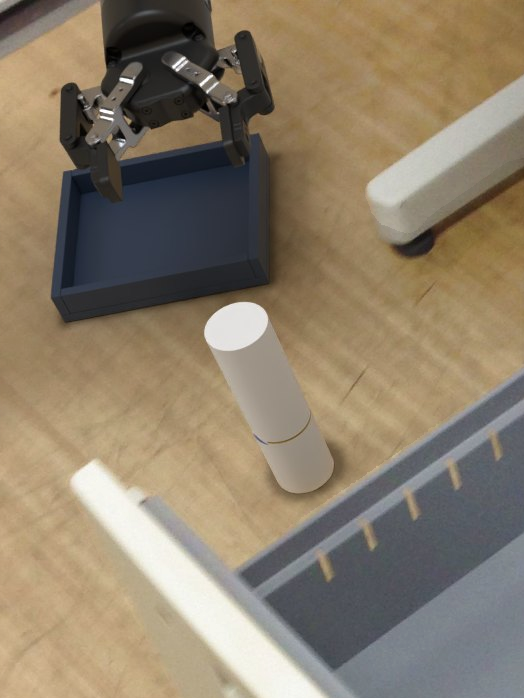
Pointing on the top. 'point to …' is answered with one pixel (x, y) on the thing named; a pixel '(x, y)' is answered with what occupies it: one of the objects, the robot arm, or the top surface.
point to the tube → (269, 396)
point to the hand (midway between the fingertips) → (173, 175)
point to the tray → (163, 231)
